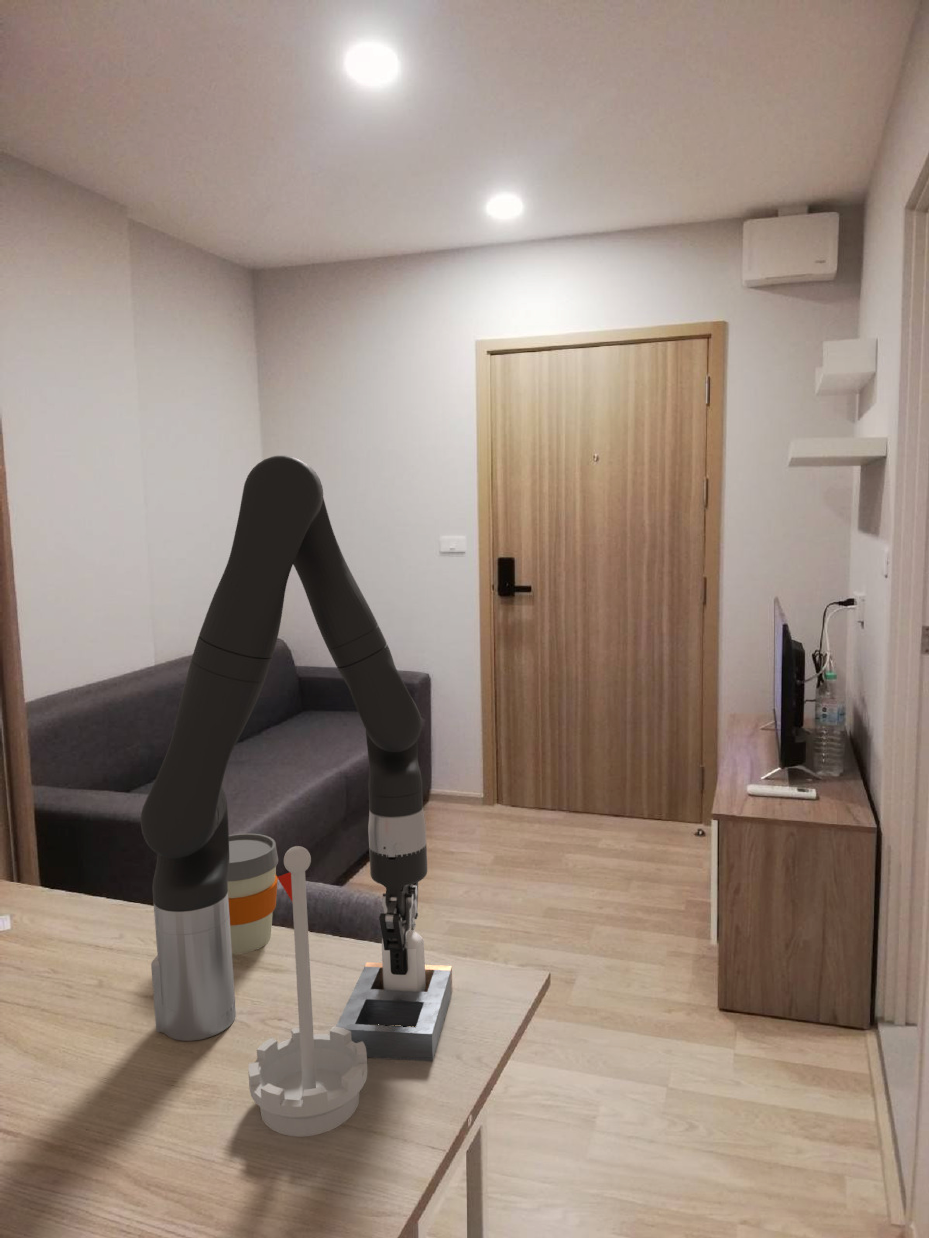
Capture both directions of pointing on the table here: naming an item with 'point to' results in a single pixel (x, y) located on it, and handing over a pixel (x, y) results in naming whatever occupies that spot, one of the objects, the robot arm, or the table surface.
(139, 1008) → the table surface
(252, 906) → the reusable coffee cup
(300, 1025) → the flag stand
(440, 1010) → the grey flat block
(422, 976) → the eye dropper bottle
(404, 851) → the robot arm
